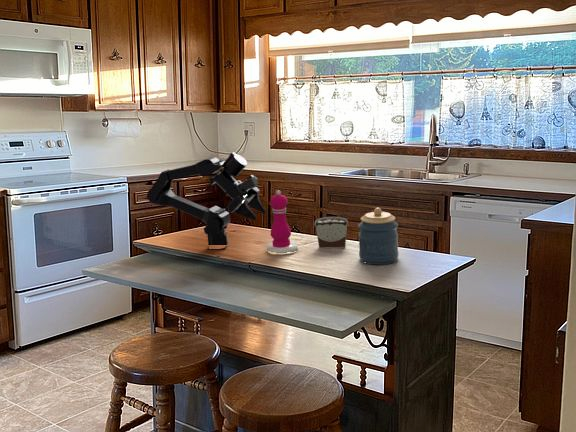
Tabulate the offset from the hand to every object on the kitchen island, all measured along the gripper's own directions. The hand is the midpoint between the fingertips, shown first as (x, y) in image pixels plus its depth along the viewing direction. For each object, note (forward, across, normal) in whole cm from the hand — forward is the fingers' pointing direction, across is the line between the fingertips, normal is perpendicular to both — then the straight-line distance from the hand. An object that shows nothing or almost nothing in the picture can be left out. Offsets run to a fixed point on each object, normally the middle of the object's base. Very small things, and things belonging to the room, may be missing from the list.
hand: (260, 215), depth 229 cm
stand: (+14, 0, +4) cm, 15 cm away
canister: (+39, -5, -21) cm, 45 cm away
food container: (+26, +8, -8) cm, 28 cm away
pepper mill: (+13, 0, +2) cm, 13 cm away
